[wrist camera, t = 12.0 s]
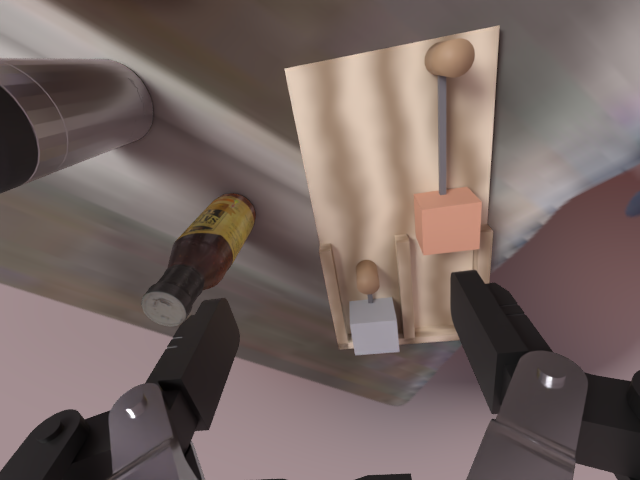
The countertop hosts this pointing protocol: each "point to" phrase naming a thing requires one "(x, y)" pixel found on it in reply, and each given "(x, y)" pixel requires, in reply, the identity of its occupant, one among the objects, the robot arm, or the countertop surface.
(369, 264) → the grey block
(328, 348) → the countertop surface
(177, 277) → the sauce bottle
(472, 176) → the wooden backboard
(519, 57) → the countertop surface
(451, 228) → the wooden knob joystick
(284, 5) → the countertop surface
